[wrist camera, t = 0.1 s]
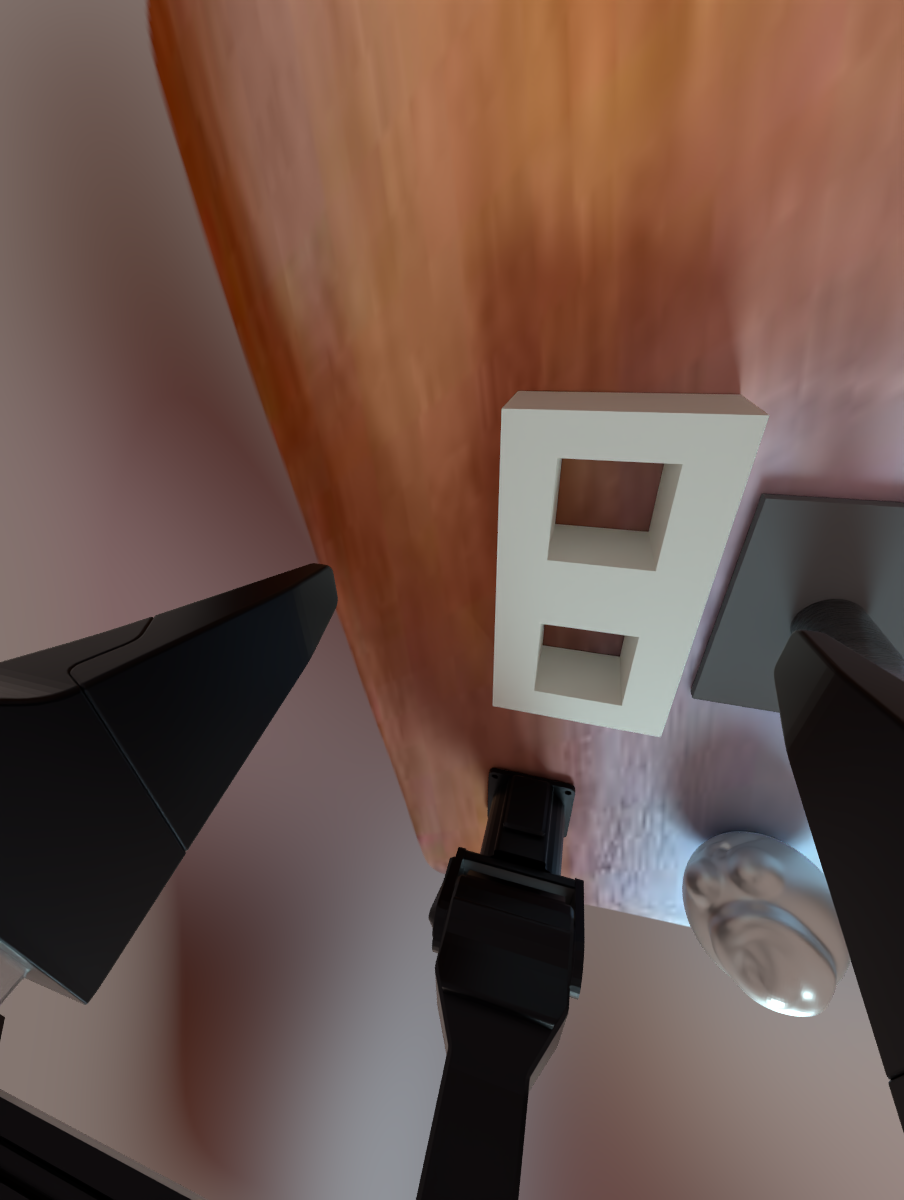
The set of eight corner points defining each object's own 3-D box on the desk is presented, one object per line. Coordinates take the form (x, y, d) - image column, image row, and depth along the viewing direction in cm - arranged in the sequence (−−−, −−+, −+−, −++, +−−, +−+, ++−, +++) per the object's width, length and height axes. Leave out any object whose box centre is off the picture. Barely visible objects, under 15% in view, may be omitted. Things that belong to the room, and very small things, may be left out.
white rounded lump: (841, 811, 28) (933, 1013, 20) (798, 888, 33) (859, 1074, 25) (682, 787, 31) (708, 957, 23) (664, 861, 36) (681, 1023, 28)
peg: (850, 654, 22) (988, 856, 14) (780, 645, 23) (874, 832, 15) (880, 603, 21) (1055, 799, 13) (804, 595, 21) (923, 775, 13)
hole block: (654, 685, 27) (660, 737, 24) (504, 661, 29) (492, 705, 26) (740, 394, 18) (769, 415, 15) (517, 390, 20) (501, 408, 17)
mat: (873, 720, 24) (878, 728, 24) (690, 690, 27) (692, 698, 26) (1020, 509, 18) (1032, 515, 17) (762, 493, 20) (766, 498, 20)
